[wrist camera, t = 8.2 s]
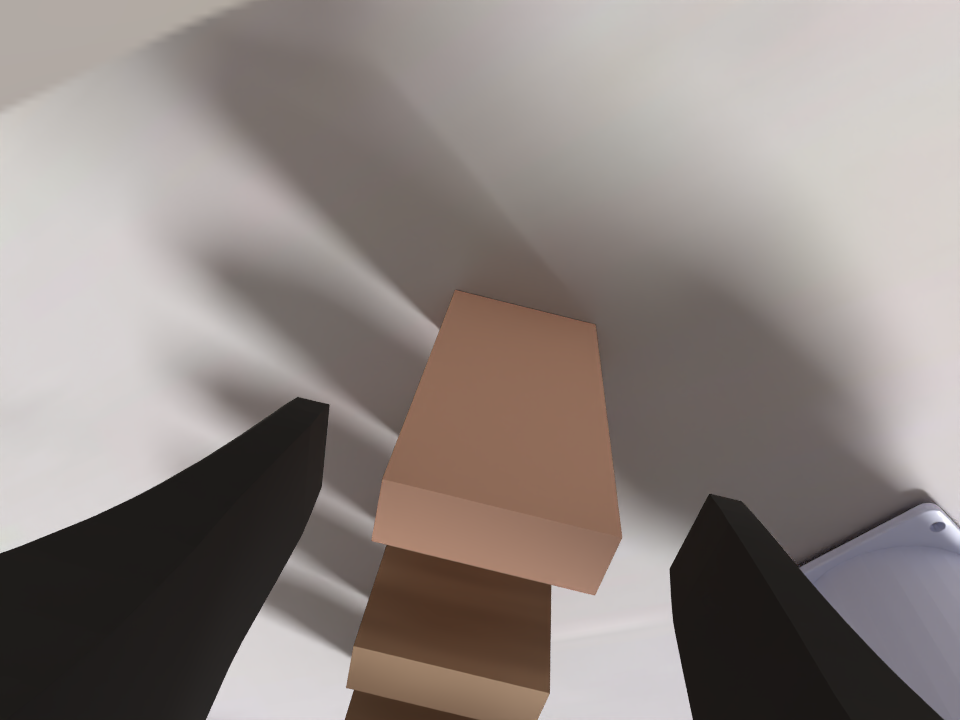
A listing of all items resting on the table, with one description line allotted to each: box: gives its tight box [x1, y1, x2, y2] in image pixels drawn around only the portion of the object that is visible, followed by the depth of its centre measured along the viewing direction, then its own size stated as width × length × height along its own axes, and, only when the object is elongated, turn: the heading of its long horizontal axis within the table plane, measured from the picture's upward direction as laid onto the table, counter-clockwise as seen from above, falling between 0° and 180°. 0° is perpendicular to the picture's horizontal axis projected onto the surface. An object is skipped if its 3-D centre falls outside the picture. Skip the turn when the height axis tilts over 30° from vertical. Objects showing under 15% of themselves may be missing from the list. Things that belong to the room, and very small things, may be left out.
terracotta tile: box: [371, 290, 622, 595], centre depth 17 cm, size 2×5×10 cm, turn 78°
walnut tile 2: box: [346, 545, 551, 720], centre depth 20 cm, size 2×5×10 cm, turn 78°
